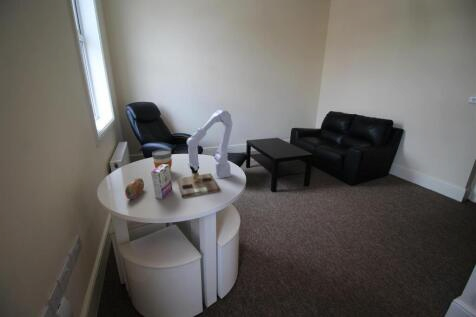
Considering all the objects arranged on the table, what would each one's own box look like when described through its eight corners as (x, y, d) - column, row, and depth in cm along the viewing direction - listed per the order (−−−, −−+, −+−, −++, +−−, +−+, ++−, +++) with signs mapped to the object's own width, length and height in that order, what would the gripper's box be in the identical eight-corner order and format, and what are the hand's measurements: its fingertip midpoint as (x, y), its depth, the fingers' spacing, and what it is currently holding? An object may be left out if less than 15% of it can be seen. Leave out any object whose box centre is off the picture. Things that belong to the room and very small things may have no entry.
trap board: (210, 176, 147) (210, 173, 147) (219, 190, 128) (219, 187, 127) (177, 181, 140) (177, 178, 139) (181, 197, 121) (181, 194, 120)
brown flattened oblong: (131, 202, 117) (128, 188, 114) (125, 201, 117) (123, 187, 114) (145, 188, 131) (143, 176, 128) (140, 188, 131) (138, 175, 128)
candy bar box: (165, 189, 130) (161, 163, 125) (172, 189, 129) (169, 164, 124) (154, 198, 120) (150, 171, 114) (163, 199, 119) (159, 172, 113)
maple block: (198, 178, 139) (198, 172, 138) (199, 180, 136) (199, 175, 135) (192, 179, 138) (191, 173, 137) (193, 181, 135) (193, 176, 133)
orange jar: (176, 169, 158) (174, 150, 153) (168, 176, 147) (165, 155, 141) (160, 168, 160) (157, 149, 155) (151, 175, 149) (148, 154, 144)
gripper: (185, 153, 140) (187, 173, 145) (188, 161, 127) (190, 182, 132) (196, 152, 142) (197, 171, 147) (200, 159, 130) (202, 180, 134)
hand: (195, 176), depth 140 cm, fingers closed
